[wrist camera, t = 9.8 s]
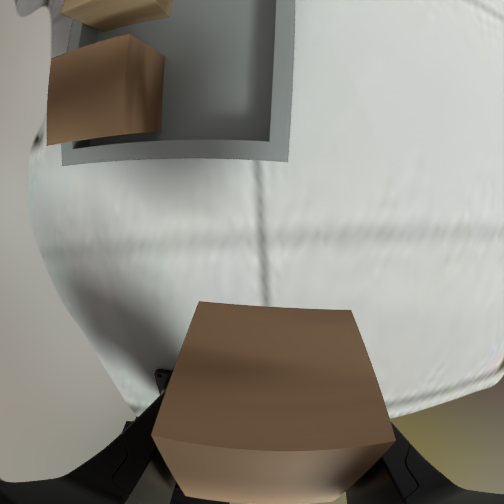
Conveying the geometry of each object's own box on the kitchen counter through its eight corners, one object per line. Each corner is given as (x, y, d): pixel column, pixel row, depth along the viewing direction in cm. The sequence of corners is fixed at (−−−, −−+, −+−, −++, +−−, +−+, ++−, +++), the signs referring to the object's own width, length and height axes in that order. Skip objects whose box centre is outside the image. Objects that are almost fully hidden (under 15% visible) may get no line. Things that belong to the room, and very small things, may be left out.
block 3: (321, 400, 11) (332, 501, 6) (206, 394, 11) (185, 495, 6) (350, 310, 9) (396, 440, 4) (199, 301, 9) (151, 434, 4)
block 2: (161, 131, 15) (122, 133, 11) (95, 138, 15) (47, 145, 11) (165, 56, 13) (129, 33, 9) (98, 69, 13) (51, 58, 9)
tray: (285, 158, 16) (287, 162, 14) (83, 160, 17) (62, 166, 14) (292, -49, 10) (295, -68, 7) (104, -25, 10) (89, -37, 8)
